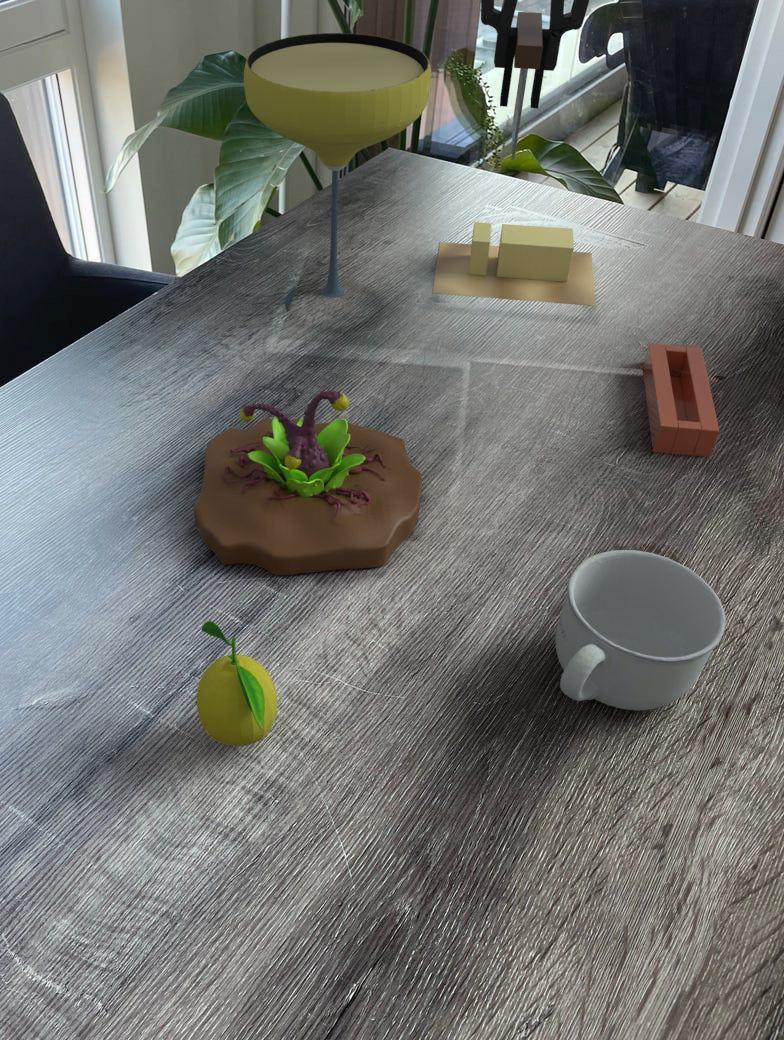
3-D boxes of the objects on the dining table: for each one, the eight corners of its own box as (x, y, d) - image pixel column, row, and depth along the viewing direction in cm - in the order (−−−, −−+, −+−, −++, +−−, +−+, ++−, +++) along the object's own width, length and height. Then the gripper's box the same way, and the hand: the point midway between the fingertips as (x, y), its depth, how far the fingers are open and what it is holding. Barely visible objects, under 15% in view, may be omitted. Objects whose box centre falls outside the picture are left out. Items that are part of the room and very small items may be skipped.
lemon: (208, 695, 76) (198, 595, 68) (286, 705, 75) (285, 606, 68) (185, 767, 71) (172, 668, 64) (268, 779, 70) (265, 680, 63)
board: (589, 264, 124) (591, 252, 122) (593, 318, 115) (595, 305, 114) (438, 253, 125) (439, 241, 124) (430, 305, 117) (432, 292, 115)
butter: (566, 262, 121) (572, 228, 118) (567, 282, 117) (573, 248, 114) (497, 257, 122) (502, 223, 119) (496, 276, 118) (501, 242, 115)
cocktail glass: (341, 253, 126) (348, 21, 108) (446, 310, 116) (472, 65, 98) (220, 298, 118) (206, 56, 100) (321, 363, 108) (325, 107, 90)
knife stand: (692, 378, 106) (701, 347, 103) (708, 463, 96) (719, 431, 93) (640, 374, 106) (648, 342, 104) (651, 458, 96) (660, 425, 94)
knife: (525, 121, 113) (542, 12, 105) (524, 160, 105) (542, 46, 97) (503, 120, 113) (518, 11, 105) (501, 159, 105) (517, 45, 98)
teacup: (618, 606, 82) (642, 529, 77) (727, 691, 76) (762, 613, 70) (486, 680, 77) (501, 602, 71) (592, 777, 71) (617, 700, 65)
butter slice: (487, 256, 122) (491, 223, 119) (485, 276, 118) (490, 242, 115) (470, 255, 122) (474, 221, 119) (468, 274, 118) (472, 240, 116)
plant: (422, 583, 84) (434, 471, 76) (183, 572, 85) (171, 460, 77) (418, 441, 98) (429, 333, 90) (214, 433, 99) (206, 326, 91)
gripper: (470, -184, 88) (441, 110, 105) (656, -178, 86) (596, 120, 103) (473, -197, 93) (445, 85, 110) (649, -192, 91) (593, 94, 108)
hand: (519, 102), depth 106 cm, fingers closed on knife, 2 cm apart
